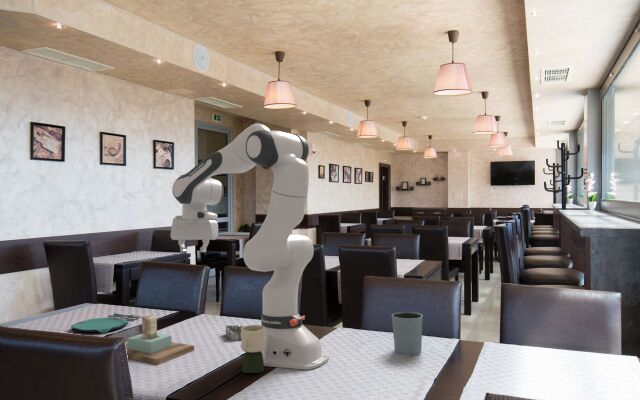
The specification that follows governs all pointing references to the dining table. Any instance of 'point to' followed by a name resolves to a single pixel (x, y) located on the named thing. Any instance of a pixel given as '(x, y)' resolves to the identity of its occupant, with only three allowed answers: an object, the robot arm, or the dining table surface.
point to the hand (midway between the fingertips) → (193, 252)
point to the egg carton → (233, 332)
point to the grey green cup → (407, 332)
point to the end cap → (149, 343)
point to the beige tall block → (149, 327)
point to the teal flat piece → (103, 323)
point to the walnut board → (160, 353)
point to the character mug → (253, 348)
